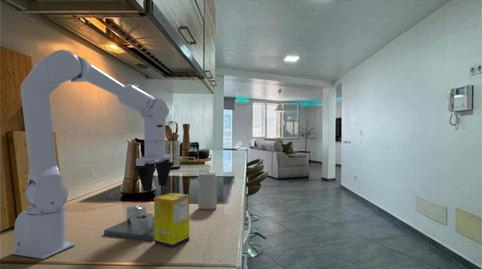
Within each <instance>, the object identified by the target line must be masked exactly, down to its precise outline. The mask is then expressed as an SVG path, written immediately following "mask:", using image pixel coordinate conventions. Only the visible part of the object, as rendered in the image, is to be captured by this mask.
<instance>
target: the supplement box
mask: <svg viewBox="0 0 482 269" xmlns="http://www.w3.org/2000/svg"><path fill="white" fill-rule="evenodd" d="M153 199H154V200H153V203H154V206H153V207H154V208H153V209H154V215H153V217H154V219H155V240H154V243H155V245H156V244H157V245H161V246H163V247H167V248H171V249H173V248H175V247H178V246H179V245H181V244H183V243H185V242H187V241H189V240H190V195H189V194H185V193H184V194H183V193H176V192H171V193H166V194H162V195H159V196H155V197H154V198H153Z"/></svg>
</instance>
